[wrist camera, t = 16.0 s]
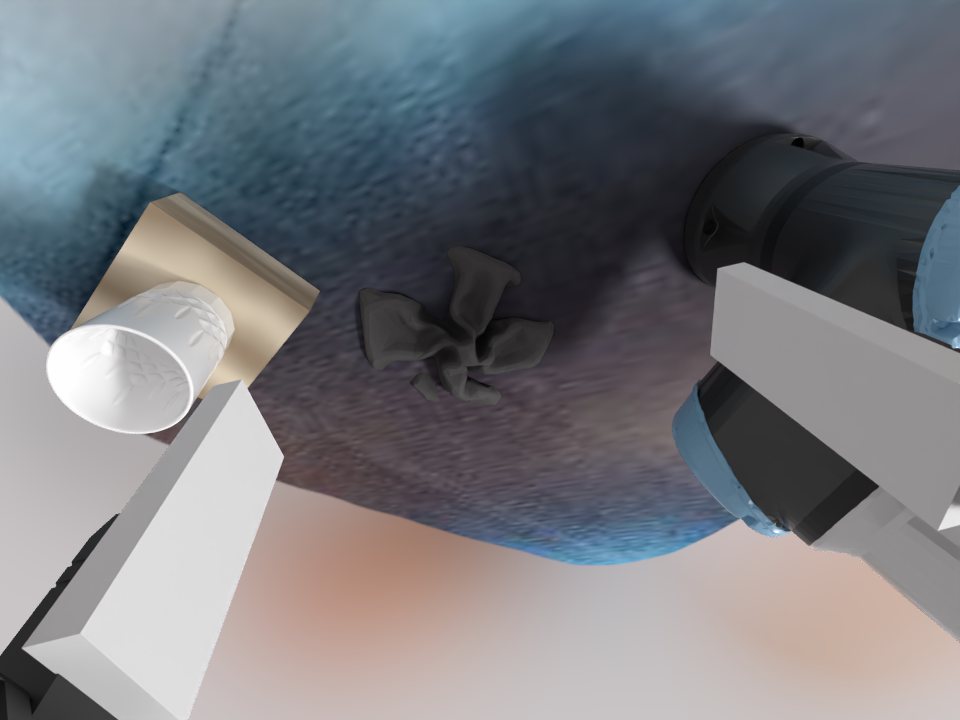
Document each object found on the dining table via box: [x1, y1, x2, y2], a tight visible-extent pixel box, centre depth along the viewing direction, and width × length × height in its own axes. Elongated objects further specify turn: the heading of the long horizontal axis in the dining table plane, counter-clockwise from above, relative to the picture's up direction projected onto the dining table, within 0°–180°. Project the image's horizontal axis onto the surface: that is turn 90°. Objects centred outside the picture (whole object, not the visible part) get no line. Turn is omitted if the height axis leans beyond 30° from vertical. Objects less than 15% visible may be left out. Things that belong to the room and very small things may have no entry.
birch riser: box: [71, 192, 320, 399], centre depth 38 cm, size 13×13×5 cm
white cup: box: [46, 281, 235, 434], centre depth 32 cm, size 8×8×10 cm
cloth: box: [359, 247, 554, 405], centre depth 44 cm, size 22×19×6 cm
